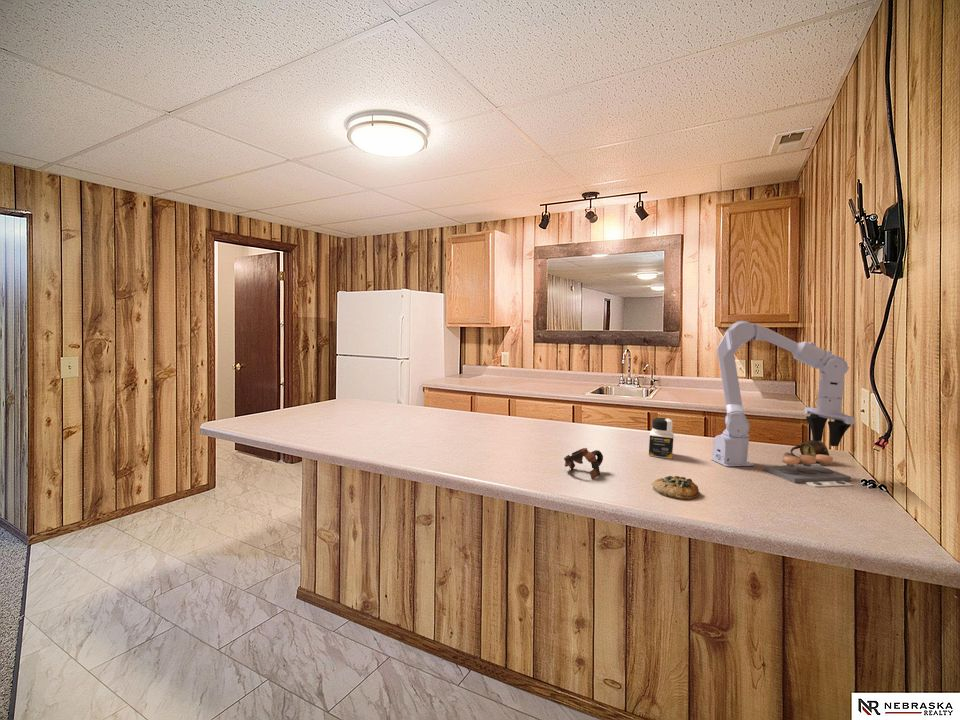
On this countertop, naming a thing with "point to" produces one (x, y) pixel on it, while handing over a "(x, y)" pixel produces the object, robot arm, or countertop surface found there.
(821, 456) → the button
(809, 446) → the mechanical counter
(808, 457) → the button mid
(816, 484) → the card
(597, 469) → the brown jointed linkage
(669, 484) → the bread roll
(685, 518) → the countertop surface
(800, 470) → the board
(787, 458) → the button
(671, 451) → the medicine bottle
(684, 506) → the countertop surface
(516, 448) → the countertop surface
